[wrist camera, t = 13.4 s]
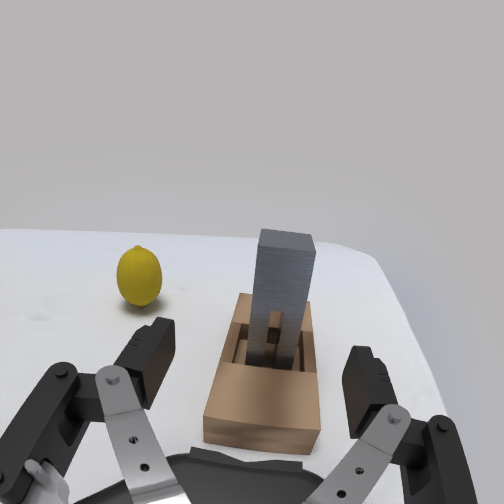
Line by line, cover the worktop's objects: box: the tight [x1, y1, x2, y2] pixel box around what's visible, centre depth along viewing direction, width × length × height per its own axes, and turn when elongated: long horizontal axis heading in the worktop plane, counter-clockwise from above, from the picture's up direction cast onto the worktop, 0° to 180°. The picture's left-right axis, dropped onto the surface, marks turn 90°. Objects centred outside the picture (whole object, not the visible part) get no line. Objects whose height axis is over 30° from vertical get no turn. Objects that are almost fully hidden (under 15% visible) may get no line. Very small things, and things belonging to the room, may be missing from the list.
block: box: [245, 229, 316, 371], centre depth 25 cm, size 4×4×12 cm
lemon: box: [117, 246, 162, 307], centre depth 35 cm, size 6×6×8 cm
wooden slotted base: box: [203, 293, 321, 455], centre depth 27 cm, size 8×18×4 cm, turn 174°
